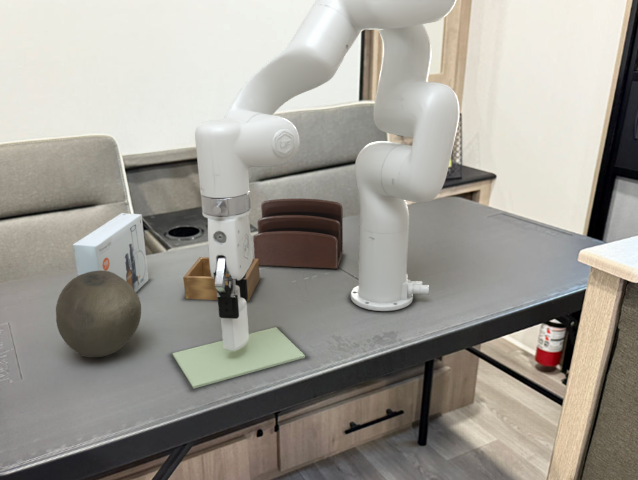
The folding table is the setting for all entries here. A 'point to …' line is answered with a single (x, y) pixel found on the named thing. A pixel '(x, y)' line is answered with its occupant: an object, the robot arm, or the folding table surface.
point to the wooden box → (213, 280)
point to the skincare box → (115, 250)
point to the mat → (236, 358)
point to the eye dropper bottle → (236, 326)
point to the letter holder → (300, 233)
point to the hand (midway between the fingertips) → (234, 307)
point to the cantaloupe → (97, 313)
